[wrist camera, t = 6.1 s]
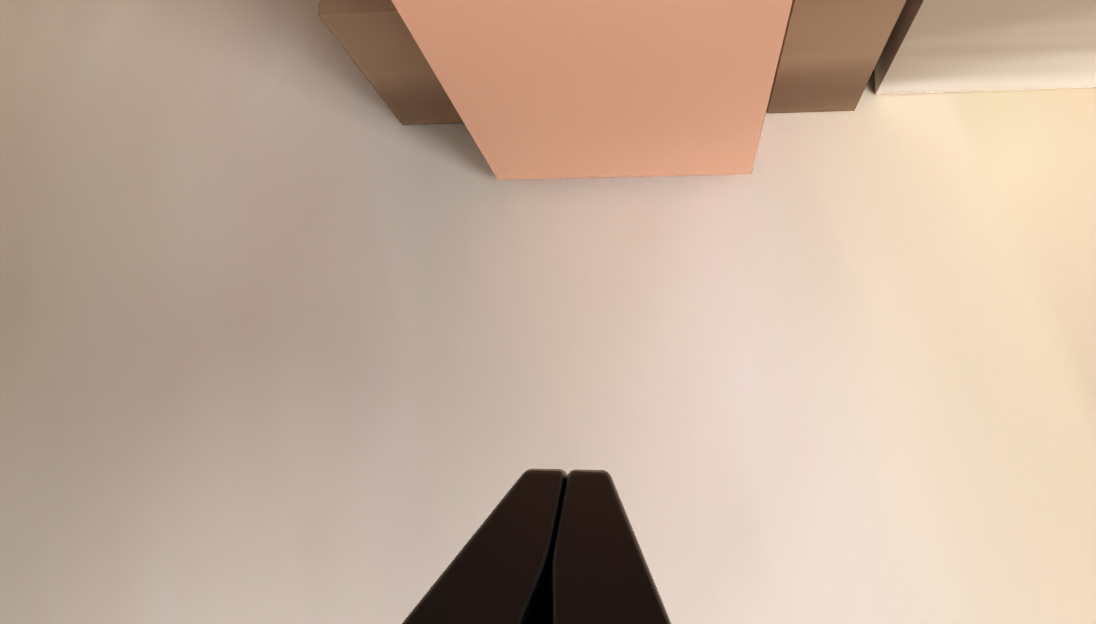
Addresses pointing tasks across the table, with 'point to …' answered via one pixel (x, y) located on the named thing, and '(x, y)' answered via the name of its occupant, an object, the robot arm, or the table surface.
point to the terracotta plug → (605, 81)
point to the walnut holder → (807, 51)
